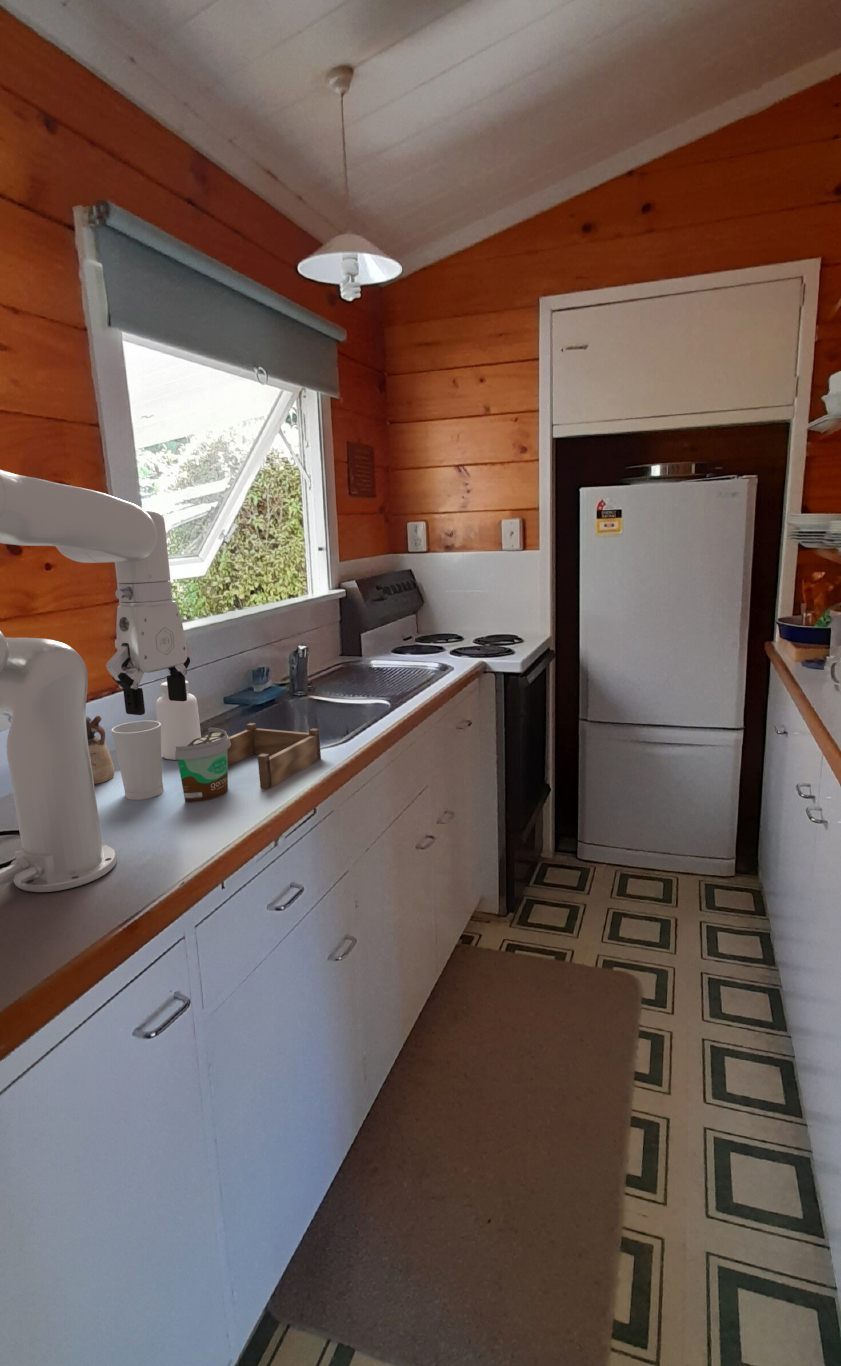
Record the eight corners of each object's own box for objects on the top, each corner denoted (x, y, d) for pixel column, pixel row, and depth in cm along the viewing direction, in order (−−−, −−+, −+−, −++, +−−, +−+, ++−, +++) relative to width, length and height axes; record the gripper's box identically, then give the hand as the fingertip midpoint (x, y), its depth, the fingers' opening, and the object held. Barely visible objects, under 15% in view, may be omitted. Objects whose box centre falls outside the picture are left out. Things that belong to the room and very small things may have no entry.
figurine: (84, 772, 141) (76, 712, 138) (121, 772, 140) (113, 710, 138) (65, 786, 134) (56, 722, 131) (104, 785, 133) (95, 721, 131)
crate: (267, 789, 128) (264, 756, 126) (193, 780, 134) (190, 748, 133) (320, 758, 144) (318, 728, 143) (252, 751, 150) (250, 722, 149)
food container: (214, 807, 121) (208, 748, 119) (180, 805, 122) (174, 747, 120) (246, 781, 133) (241, 727, 130) (215, 780, 134) (209, 726, 132)
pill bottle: (191, 746, 155) (184, 676, 152) (209, 754, 150) (202, 681, 146) (155, 755, 150) (146, 683, 147) (172, 763, 144) (163, 688, 141)
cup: (137, 784, 133) (129, 720, 131) (177, 785, 131) (169, 720, 129) (110, 800, 125) (101, 732, 123) (152, 802, 124) (144, 733, 121)
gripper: (120, 600, 101) (134, 722, 104) (204, 589, 116) (213, 696, 120) (79, 599, 104) (94, 719, 107) (166, 589, 119) (177, 693, 123)
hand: (157, 706), depth 114 cm, fingers open, 8 cm apart
